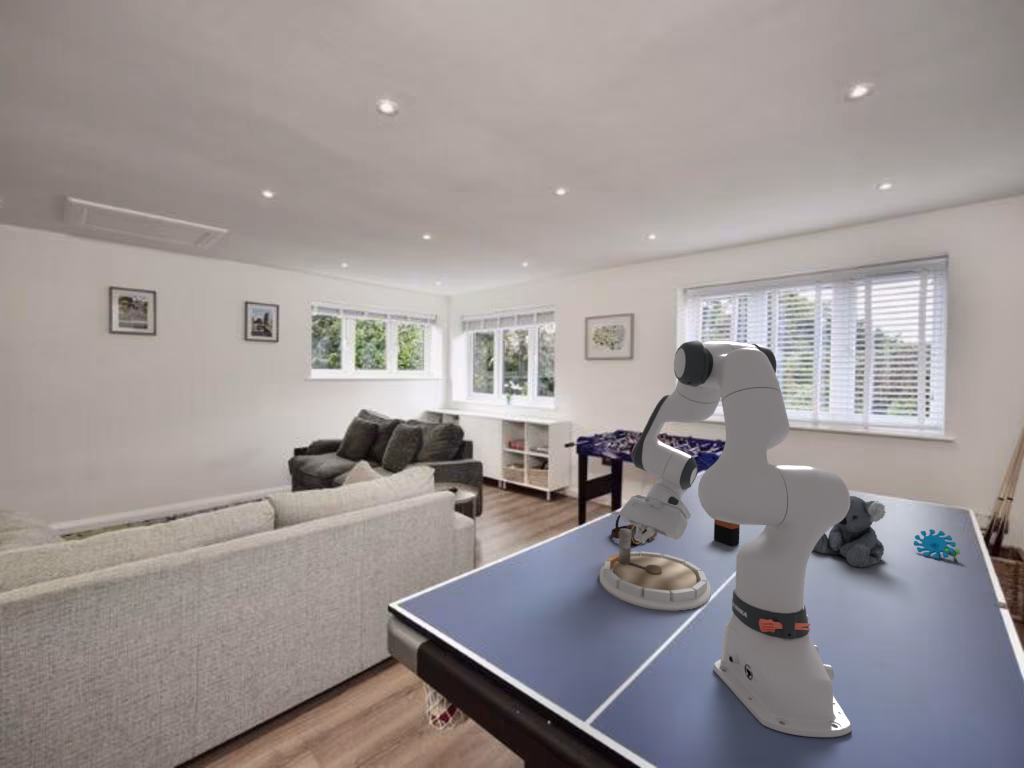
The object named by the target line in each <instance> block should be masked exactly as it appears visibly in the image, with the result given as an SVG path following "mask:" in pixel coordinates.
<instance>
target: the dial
mask: <svg viewBox="0 0 1024 768" xmlns="http://www.w3.org/2000/svg"><path fill="white" fill-rule="evenodd" d="M631 545H632V544H631V530H630V529H626V528H622V529H620V539H619V545H618V546H619V547H618V549H619V550H618V554H619V560H618V561H617V562H615V564H614V565H613V573H614V574H615V575H616V576H618V577H619V578H620V579H621V580H624V581H626V582H629V583H632V584H635V585H638V586H640V587H643V593H644V588H651V589H659V590H667V591H672V590H680V589H687V588H692V587H693V586H694V585H696V575H695V574H694V572H693V571H692V570H690V569H689V568H687V567H686V566H684V565H682V564H680V563H677V562H674V561H671V560H668V559H663V557H662V558H658V557H651V556H641V555H640V556H632V557H630V552H631V551H632V550H631Z"/></svg>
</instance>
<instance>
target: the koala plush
mask: <svg viewBox="0 0 1024 768" xmlns="http://www.w3.org/2000/svg"><path fill="white" fill-rule="evenodd" d="M885 506H886V505H884V504H883V503H881V502H879V500H869V501H865V500H863V498H860V497H858V496H855V495H850V507H849V510H848V513H847V515H846V516H845V518H844V519H843V520H842V521H840V522H839V523H837V524H835V525H834V526H832V527H831V528H830V531H829V534H828V535H827V534H826V532H825V533H824V535H823V536H822V537H821V538H820V539H819V541H818V542H817V544H816V545H815V547H814V549H813V551H815V552H817V553H818V554H822V555H823V554H824V555H831V556H832V555H833V556H834V555H836V556H837V555H841V556H842V557H844V558H846V561H847V563H848V564H849V565H850V566H852V567H854V568H855V567H856V568H860V569H861V568H867V567H870V566H872V565H878V564H879V562H880V561H881V559H883V558H882V557H883V556H884V552H885V547H884V545H883V543H882V541H880V540H879V538H878V535H877V534H876V531H875V529H874V528H872V524H873V523H874V522H875V523H876V522H880V521H881V520H882V519H884V517H885V515H886V513H887V512H886V508H885Z"/></svg>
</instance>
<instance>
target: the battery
mask: <svg viewBox="0 0 1024 768" xmlns="http://www.w3.org/2000/svg"><path fill="white" fill-rule="evenodd" d="M713 520H714V521H713V522H714V525H713V526H714V527H713V540H714V541H716V542H718V541H719V543H721V542H722V544H724V545H727V546H729V545H730V547H732V546H736V545H740V529H741V528H740V525H739V524H733V523H729V522H724V521H720V520H716V519H713Z"/></svg>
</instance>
